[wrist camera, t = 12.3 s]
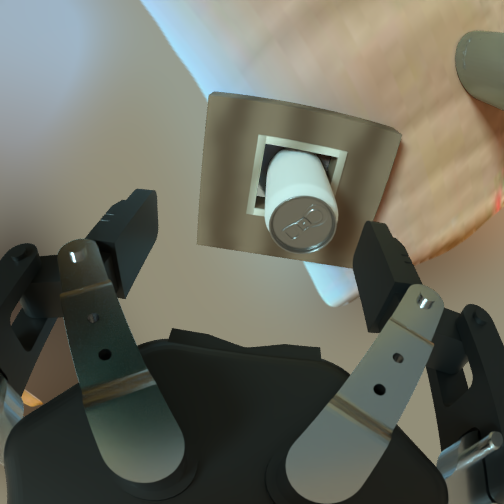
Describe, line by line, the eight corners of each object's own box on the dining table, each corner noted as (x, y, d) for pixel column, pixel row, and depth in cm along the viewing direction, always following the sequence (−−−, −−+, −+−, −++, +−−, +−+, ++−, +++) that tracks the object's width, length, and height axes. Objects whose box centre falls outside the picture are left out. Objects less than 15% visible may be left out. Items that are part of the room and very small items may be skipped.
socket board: (392, 127, 31) (402, 135, 28) (349, 254, 42) (354, 269, 39) (214, 91, 30) (208, 95, 28) (201, 231, 41) (196, 245, 38)
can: (334, 175, 35) (356, 230, 26) (291, 206, 38) (296, 270, 28) (298, 134, 33) (309, 175, 23) (255, 169, 36) (247, 223, 26)
